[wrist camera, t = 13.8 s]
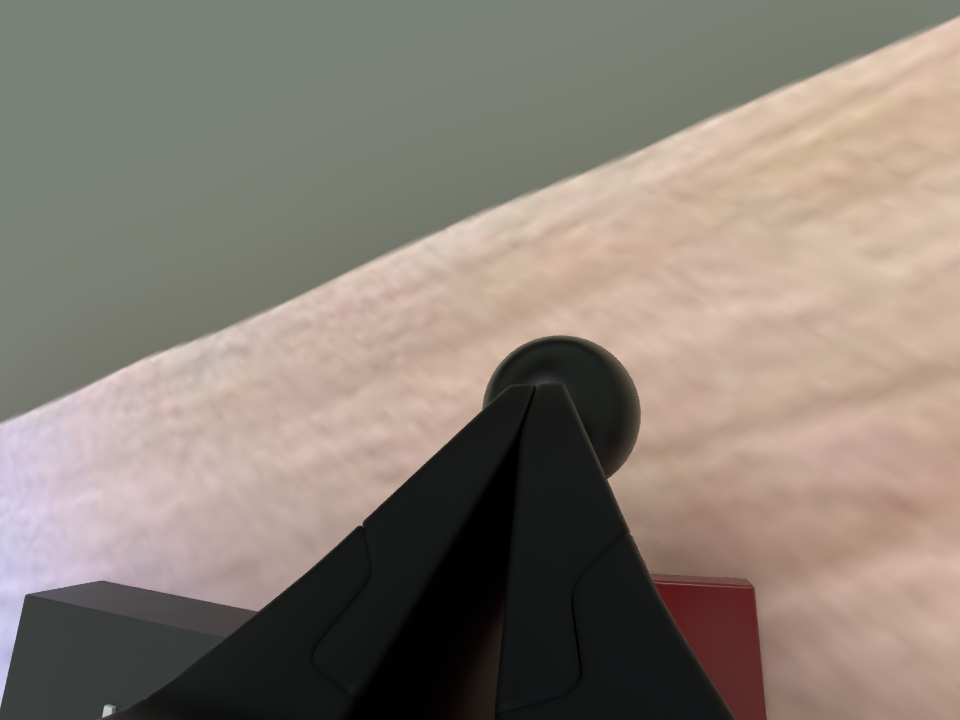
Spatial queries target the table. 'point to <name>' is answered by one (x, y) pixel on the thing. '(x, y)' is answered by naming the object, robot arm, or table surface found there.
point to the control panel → (105, 648)
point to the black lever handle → (580, 390)
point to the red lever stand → (720, 635)
